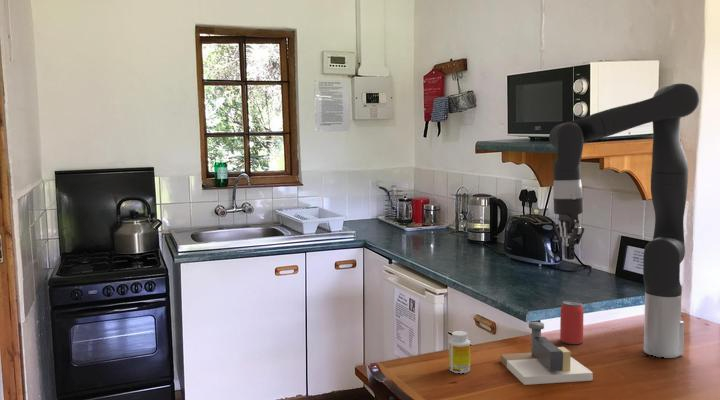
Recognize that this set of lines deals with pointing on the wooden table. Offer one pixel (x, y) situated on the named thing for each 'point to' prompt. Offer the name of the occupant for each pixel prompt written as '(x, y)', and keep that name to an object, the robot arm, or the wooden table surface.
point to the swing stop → (547, 353)
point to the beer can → (571, 322)
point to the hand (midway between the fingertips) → (569, 259)
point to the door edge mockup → (537, 373)
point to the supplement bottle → (459, 352)
